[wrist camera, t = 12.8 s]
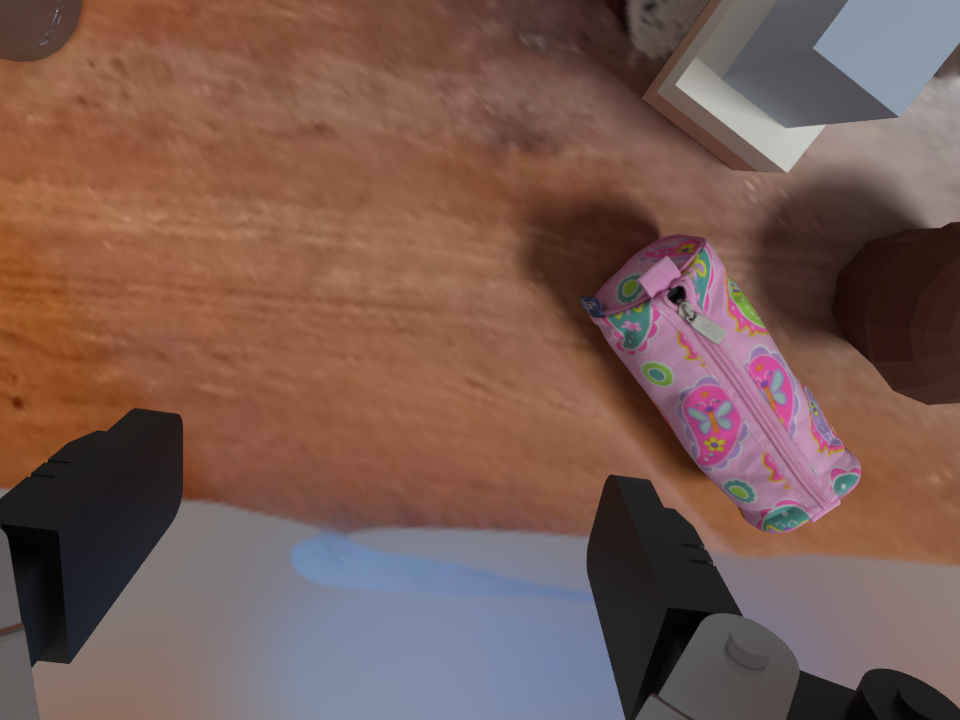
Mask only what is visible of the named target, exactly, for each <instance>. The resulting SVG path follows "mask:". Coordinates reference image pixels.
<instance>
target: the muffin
mask: <svg viewBox="0 0 960 720" xmlns="http://www.w3.org/2000/svg"><path fill="white" fill-rule="evenodd" d="M831 312H832V314H833V315H834V316H835V318H836V319H837V320H838V322H839V323H840V325H841V326H842V328H843V331H844V333H845V335H846V338H847V340H848V342H849V343H850V344H851V345H852V346H853V347H854V348H856V349H857V350H858V351H859V352H860V353H861V354H862V355H863V356H864V357H865V358H866V359H867V360H869V361H870V362H871V363H872V364H873V365H874V366H875V368H876V369H877V370H878V372H879V373H880V374H881V376H882V377H883V378H884V379H885V381H886V382H887V383H888V385H889V386H890V387H891V388H892V390H893V391H895V392H898V393H900V394H902V395H905V396H907V397H910V398H912V399H915V400H917V401H919V402H922V403H924V404H927V405H934V404H950V403H960V222H951V223H949V224H947V225H945V226H943V227H942V228H930V229H909V230H905V231H903V232H900V233H898V234H895V235H893V236H890V237H888V238H883V239H878V240H873V241H869V242H866V244H865V245H864V246H863V248H862V249H861V250H860V251H859V253H858V254H857V255H856V257H855V258H854V259H853V260H852V261H851V262H850V263H849V264H848V265H847V266H846V267H844V268H843V269H842V270H841V271H840V272H839V273H838V278H837V290H836V296H835V299H834V303H833V307H832V310H831Z"/></svg>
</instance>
